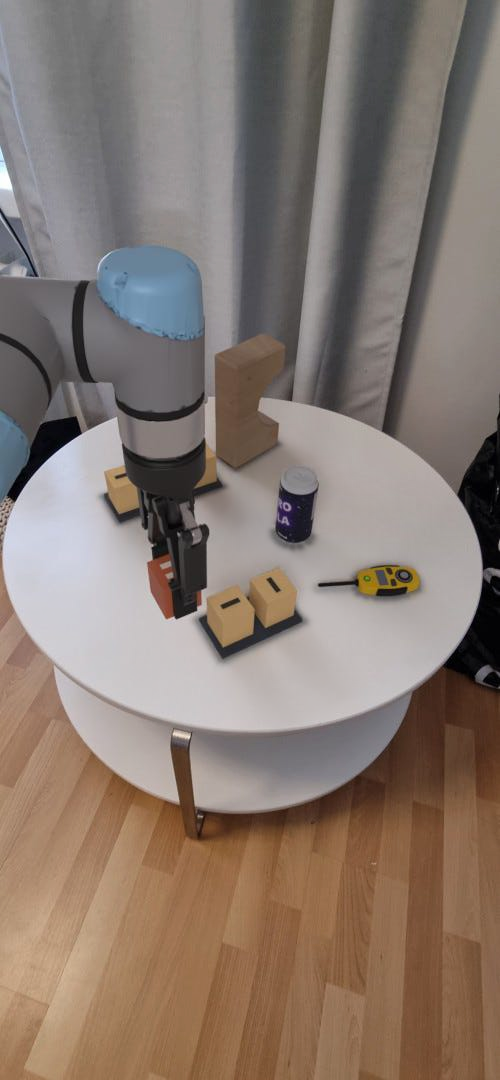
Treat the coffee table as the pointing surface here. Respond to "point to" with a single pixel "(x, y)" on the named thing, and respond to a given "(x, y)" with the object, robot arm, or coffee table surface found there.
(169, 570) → the pause symbol cube
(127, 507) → the tan cubes
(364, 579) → the yellow walkie talkie
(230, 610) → the tan boxes on tray
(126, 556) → the coffee table surface
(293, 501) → the beverage can
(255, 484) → the coffee table surface
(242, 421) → the decorative block
